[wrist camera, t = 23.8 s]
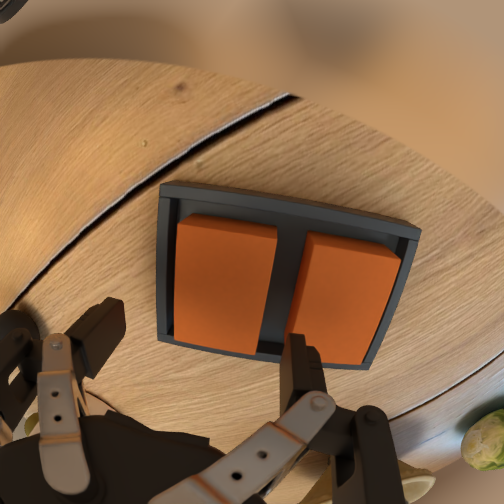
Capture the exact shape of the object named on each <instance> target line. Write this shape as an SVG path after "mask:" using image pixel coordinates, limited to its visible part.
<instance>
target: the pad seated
mask: <svg viewBox="0 0 504 504" xmlns="http://www.w3.org/2000/svg"><path fill="white" fill-rule="evenodd" d="M400 263H401V259H400V258H399V257H398V256H396V255H395V254H394V253H393V252H392V251H391V250H390V249H389V248H387V247H386V246H385V245H384V244H379V243H374V242H369V241H364V240H359V239H354V238H348V237H343V236H338V235H332V234H327V233H321V232H316V231H310V230H309V231H307V236H306V241H305V246H304V251H303V255H302V260H301V264H300V269H299V273H298V278H297V282H296V286H295V291H294V295H293V299H292V303H291V308H290V312H289V316H288V320H287V324H286V328H285V332H284V342H286V338H287V335H288V333H297V334H304V335H305V339H306V345H307V346H314V347H315V348H316V349H317V351H318V352H319V353H320V357H321V362H324V363H337V364H353V365H360V364H361V363H362V361H363V358H364V356H365V354H366V352H367V350H368V347H369V345H370V343H371V341H372V338H373V336H374V334H375V331H376V329H377V327H378V324H379V322H380V319H381V317H382V314H383V311H384V309H385V306H386V304H387V301H388V298H389V295H390V293H391V290H392V287H393V284H394V281H395V278H396V275H397V272H398V269H399V266H400Z"/></svg>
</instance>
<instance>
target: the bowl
mask: <svg viewBox="0 0 504 504" xmlns="http://www.w3.org/2000/svg"><path fill="white" fill-rule="evenodd" d="M397 461H398V465H399V470H400V475H401V480H402V485H403V491H404V497H405V503H406V504H410V503H412V502H414V501H415V500H417V499H419V498H420V497H422V496H423V495H424V494H426V493H427V491H428V490H429V489H430V488H431V487H432V486H433V484H434V482H435V477H434V476H432V473H431V471H429V470H427V469H420V468H418V469H417V468H414V467H412V466H410V465H408V464H406V463H404V462H402V461H400V460H398V459H397ZM299 504H332V476H331V456H330V457H329V459H328V468H327V469H326V470H325V472H324V473H323V474H322V476H321V477H320V479H319V480H318V481H317V482H316V483H315V485H314V486H313V487H312V489H311V490H310V491H309V492H308V494H307V495H306V496H305V497H304V499H303V500H302V501H301V502H300V503H299Z"/></svg>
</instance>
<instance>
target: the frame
mask: <svg viewBox="0 0 504 504" xmlns="http://www.w3.org/2000/svg"><path fill="white" fill-rule="evenodd" d="M159 196H160V197H159V203H158V220H157V244H156V313H157V339H158V341H162V342H166V343H170V344H174V345H178V346H183V347H187V348H192V349H196V350H201V351H206V352H211V353H216V354H222V355H227V356H233V357H239V358H245V359H251V360H258V361H265V362H272V363H280V361H281V356H282V353H283V349H284V346H285V342H284V332H285V328H286V324H287V320H288V316H289V312H290V308H291V303H292V299H293V295H294V291H295V286H296V282H297V278H298V273H299V269H300V264H301V260H302V255H303V251H304V246H305V241H306V236H307V231H309V230H310V231H316V232H321V233H327V234H332V235H338V236H343V237H348V238H354V239H359V240H364V241H369V242H374V243H379V244H384V245H385V246H386V247H387V248H389V249H390V250H391V251H392V252H393V253H394V254H395V255H396V256H398V257H399V258H400V259H401V263H400V266H399V269H398V272H397V275H396V278H395V281H394V284H393V287H392V290H391V293H390V295H389V298H388V301H387V304H386V306H385V309H384V311H383V314H382V317H381V319H380V322H379V324H378V327H377V329H376V331H375V334H374V336H373V338H372V341H371V343H370V345H369V347H368V350H367V352H366V354H365V356H364V358H363V361H362V363H361V364H360V365H353V364H337V363H324V362H321V363H322V367H323V368H331V369H347V370H369V368H370V366H371V364H372V362H373V360H374V358H375V356H376V354H377V352H378V349H379V347H380V345H381V343H382V341H383V338H384V336H385V334H386V332H387V329H388V327H389V325H390V322H391V320H392V317H393V315H394V313H395V310H396V307H397V305H398V302H399V300H400V297H401V294H402V292H403V289H404V286H405V283H406V280H407V277H408V274H409V271H410V268H411V265H412V262H413V259H414V256H415V252H416V249H417V246H418V241H419V238H420V235H421V231H422V230H421V229H420V228H418V227H416V226H415V225H413V224H411V223H409V222H407V221H404V220H400V219H396V218H391V217H387V216H383V215H379V214H374V213H370V212H365V211H361V210H356V209H352V208H347V207H342V206H337V205H332V204H327V203H322V202H317V201H311V200H306V199H301V198H295V197H289V196H283V195H278V194H271V193H265V192H259V191H252V190H246V189H239V188H232V187H224V186H217V185H209V184H201V183H192V182H184V181H174V180H173V181H169V182H165V183H161V184H160V191H159ZM192 213H195V214H202V215H209V216H216V217H223V218H229V219H236V220H242V221H249V222H255V223H261V224H267V225H273V226H277V245H276V251H275V256H274V262H273V267H272V272H271V278H270V283H269V288H268V293H267V298H266V304H265V309H264V314H263V319H262V324H261V329H260V334H259V339H258V344H257V348H256V353H255V355H249V354H243V353H237V352H231V351H226V350H220V349H215V348H210V347H205V346H200V345H195V344H190V343H186V342H181V341H177V340H174V288H175V260H176V241H177V226H178V223H180V222H181V221H182V220H184V219H185V218H187V217H188V216H189V215H191V214H192Z"/></svg>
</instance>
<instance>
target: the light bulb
mask: <svg viewBox="0 0 504 504" xmlns="http://www.w3.org/2000/svg"><path fill="white" fill-rule="evenodd" d="M16 328H25V329H27V330H29V332H30V334H31V337H32V339H37V340H40V336H39V332H38V329H37V327H36V325H35V323H34V322H33V320H32V319H31V318H30V317H29V316H28V315H27V314H25V313H24V312H21V311H19V310H8V311H5V312H3V313H2V314H1V315H0V341H1V340H2V339H3V338H4V337H5V336H6V335H7V334H8V333H9V332H10V331H12V330H14V329H16Z"/></svg>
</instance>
